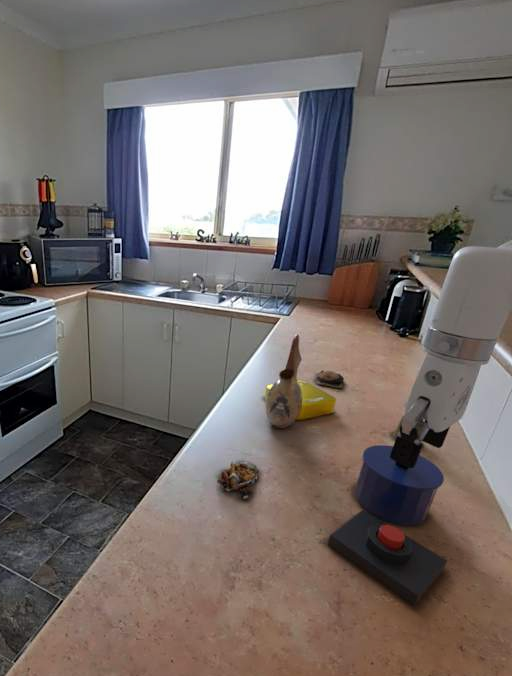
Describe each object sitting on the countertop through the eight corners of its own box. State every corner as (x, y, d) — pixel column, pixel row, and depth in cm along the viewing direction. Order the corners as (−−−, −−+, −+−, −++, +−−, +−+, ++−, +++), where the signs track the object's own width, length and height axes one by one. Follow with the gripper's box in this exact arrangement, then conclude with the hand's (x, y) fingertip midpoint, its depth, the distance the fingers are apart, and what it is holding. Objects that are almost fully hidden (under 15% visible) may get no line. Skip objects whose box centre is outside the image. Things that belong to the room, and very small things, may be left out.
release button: (405, 543, 65) (408, 535, 64) (395, 553, 63) (398, 545, 62) (383, 529, 67) (386, 521, 67) (373, 538, 65) (375, 530, 65)
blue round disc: (453, 476, 75) (464, 448, 73) (423, 503, 67) (435, 474, 65) (381, 442, 85) (389, 417, 83) (348, 463, 77) (355, 436, 75)
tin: (436, 508, 78) (450, 472, 75) (408, 535, 71) (422, 498, 68) (373, 474, 87) (383, 442, 84) (342, 496, 80) (352, 461, 77)
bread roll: (342, 390, 129) (345, 380, 128) (315, 384, 132) (317, 374, 131) (342, 378, 138) (345, 368, 137) (317, 373, 141) (319, 364, 140)
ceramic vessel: (269, 407, 115) (283, 324, 105) (301, 415, 111) (319, 329, 102) (255, 433, 101) (271, 340, 92) (291, 443, 98) (312, 347, 88)
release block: (443, 570, 64) (451, 552, 63) (413, 606, 58) (422, 587, 57) (359, 518, 75) (365, 501, 73) (327, 544, 68) (332, 526, 67)
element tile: (296, 421, 108) (299, 405, 106) (261, 398, 121) (264, 383, 119) (336, 412, 114) (340, 397, 112) (299, 391, 126) (302, 377, 125)
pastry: (262, 469, 87) (264, 455, 86) (247, 501, 77) (250, 486, 76) (231, 459, 90) (233, 446, 89) (213, 489, 80) (215, 475, 79)
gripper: (467, 365, 45) (418, 486, 52) (511, 343, 55) (465, 448, 62) (398, 345, 50) (362, 457, 57) (450, 329, 60) (414, 426, 67)
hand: (416, 452), depth 59 cm, fingers open, 9 cm apart
